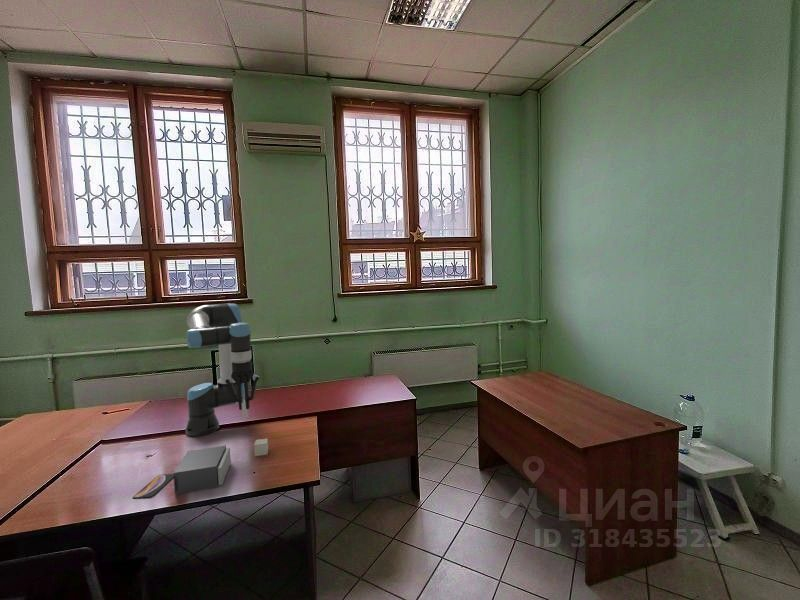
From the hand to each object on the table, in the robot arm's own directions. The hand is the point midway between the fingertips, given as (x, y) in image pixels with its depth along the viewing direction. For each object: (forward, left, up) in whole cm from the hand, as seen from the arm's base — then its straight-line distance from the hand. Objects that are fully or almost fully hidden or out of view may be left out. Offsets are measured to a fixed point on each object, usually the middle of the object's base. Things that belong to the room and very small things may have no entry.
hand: (244, 416), depth 145 cm
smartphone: (+6, -31, -21) cm, 38 cm away
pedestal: (-8, +5, -20) cm, 22 cm away
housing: (+6, -15, -20) cm, 26 cm away
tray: (+6, -14, -20) cm, 25 cm away
